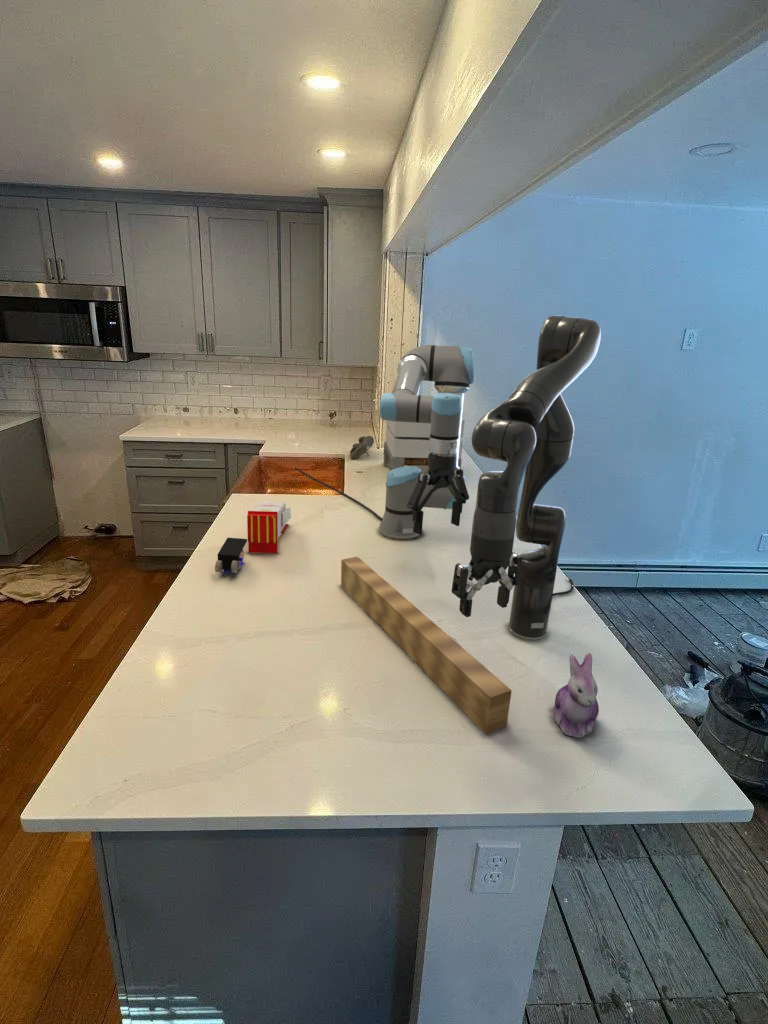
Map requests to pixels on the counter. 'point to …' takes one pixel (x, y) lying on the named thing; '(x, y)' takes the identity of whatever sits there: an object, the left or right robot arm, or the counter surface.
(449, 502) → the left robot arm
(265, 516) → the toy
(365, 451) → the fossil
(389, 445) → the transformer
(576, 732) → the figurine
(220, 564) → the figurine character
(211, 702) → the counter surface
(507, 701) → the bar
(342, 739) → the counter surface
